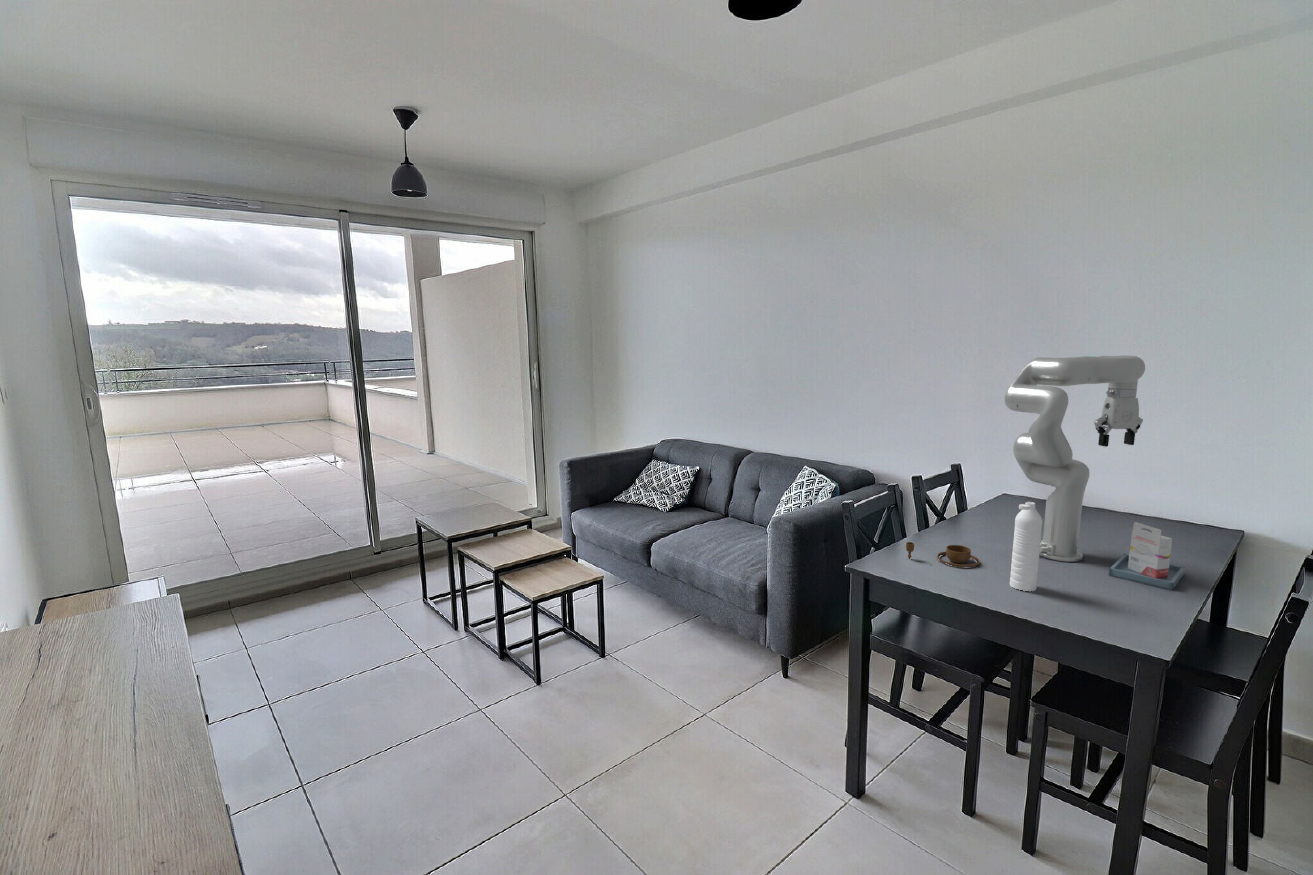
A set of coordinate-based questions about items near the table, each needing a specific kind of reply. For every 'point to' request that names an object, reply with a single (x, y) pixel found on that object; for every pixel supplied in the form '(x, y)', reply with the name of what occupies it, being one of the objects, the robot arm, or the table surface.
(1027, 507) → the water bottle
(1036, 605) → the table surface
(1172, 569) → the tray
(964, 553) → the place setting
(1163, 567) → the ink cartridge box
